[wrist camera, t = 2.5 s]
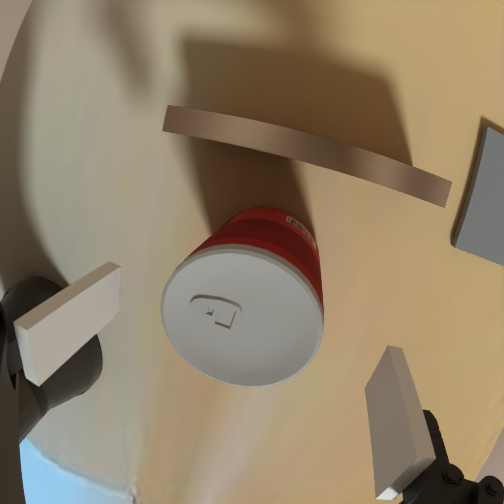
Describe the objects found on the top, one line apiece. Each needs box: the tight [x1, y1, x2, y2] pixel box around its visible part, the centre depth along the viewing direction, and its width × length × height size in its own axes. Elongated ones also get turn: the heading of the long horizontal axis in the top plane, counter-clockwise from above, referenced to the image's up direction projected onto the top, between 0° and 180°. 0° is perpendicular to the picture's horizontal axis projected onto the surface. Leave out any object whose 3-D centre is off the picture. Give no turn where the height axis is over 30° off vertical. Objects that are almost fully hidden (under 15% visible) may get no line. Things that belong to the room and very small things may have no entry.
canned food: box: [161, 208, 324, 387], centre depth 20 cm, size 8×8×11 cm
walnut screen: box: [162, 105, 452, 208], centre depth 19 cm, size 16×2×7 cm, turn 77°
